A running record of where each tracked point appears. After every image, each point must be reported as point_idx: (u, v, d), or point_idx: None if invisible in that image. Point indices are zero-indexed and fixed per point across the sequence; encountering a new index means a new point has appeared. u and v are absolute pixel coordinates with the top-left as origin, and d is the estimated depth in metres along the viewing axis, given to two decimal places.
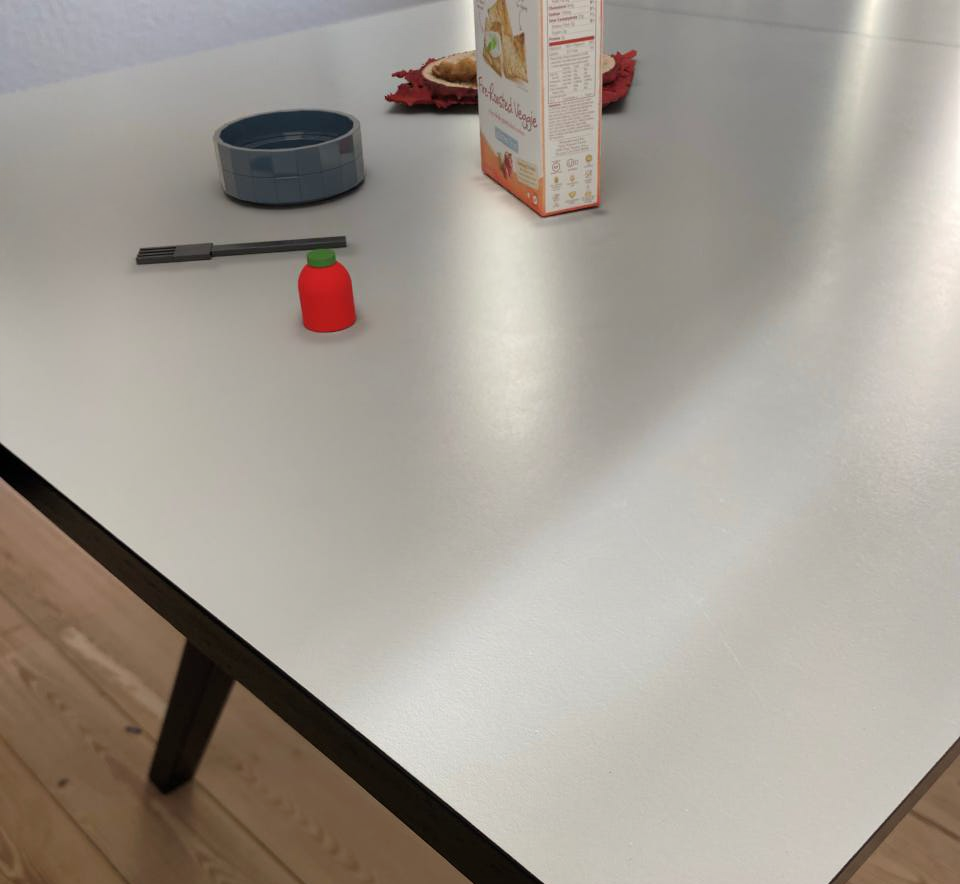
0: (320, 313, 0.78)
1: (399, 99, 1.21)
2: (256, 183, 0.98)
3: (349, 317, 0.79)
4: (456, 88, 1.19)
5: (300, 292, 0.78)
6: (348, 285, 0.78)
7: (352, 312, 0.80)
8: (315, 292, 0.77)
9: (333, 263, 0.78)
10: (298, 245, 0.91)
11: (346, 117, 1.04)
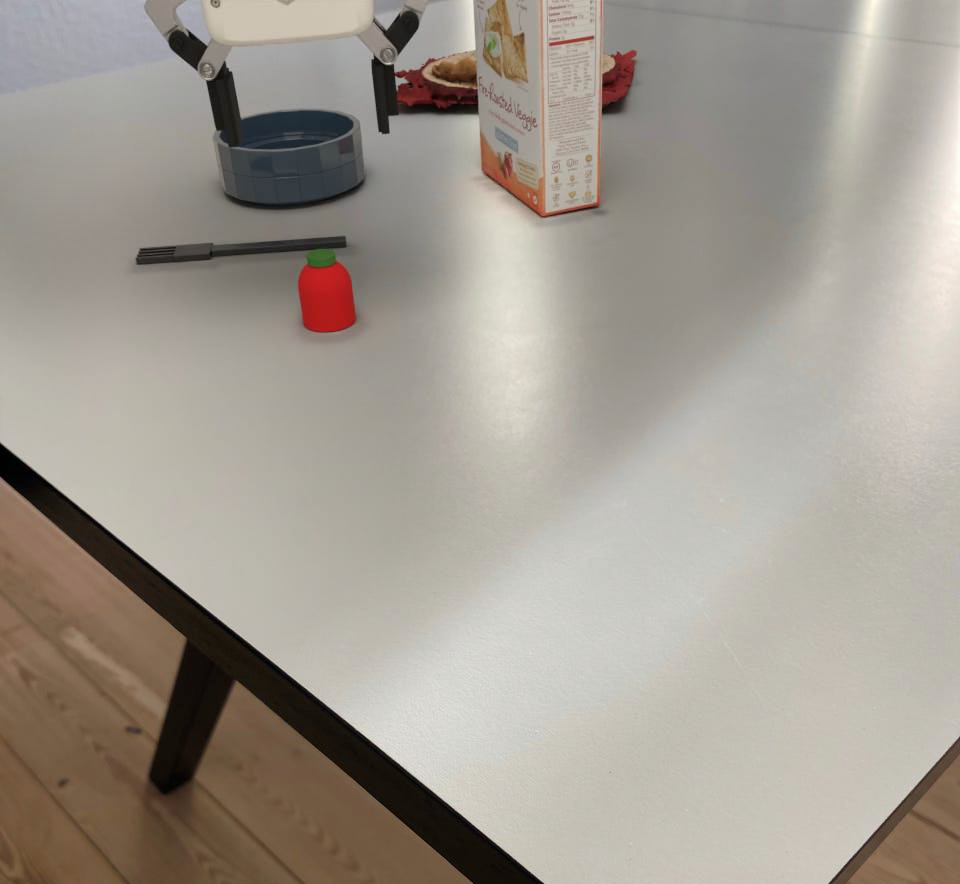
0: (320, 313, 0.78)
1: (399, 99, 1.21)
2: (256, 183, 0.98)
3: (349, 317, 0.79)
4: (456, 88, 1.19)
5: (300, 292, 0.78)
6: (348, 285, 0.78)
7: (352, 312, 0.80)
8: (315, 292, 0.77)
9: (333, 263, 0.78)
10: (298, 245, 0.91)
11: (346, 117, 1.04)
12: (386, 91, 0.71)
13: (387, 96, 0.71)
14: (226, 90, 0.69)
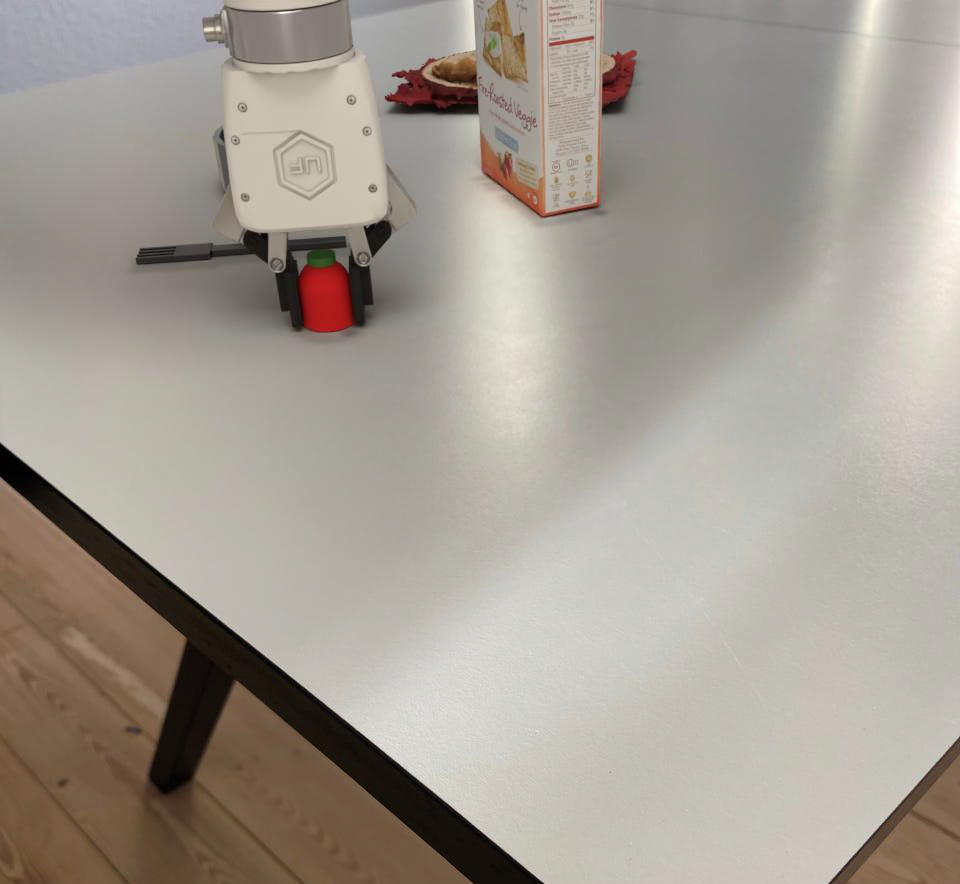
0: (320, 313, 0.78)
1: (399, 99, 1.21)
2: None
3: (349, 317, 0.79)
4: (456, 88, 1.19)
5: (300, 292, 0.78)
6: (348, 285, 0.78)
7: (352, 312, 0.80)
8: (315, 292, 0.77)
9: (333, 263, 0.78)
10: (298, 245, 0.91)
11: None
12: (362, 286, 0.78)
13: (362, 290, 0.79)
14: (293, 281, 0.77)
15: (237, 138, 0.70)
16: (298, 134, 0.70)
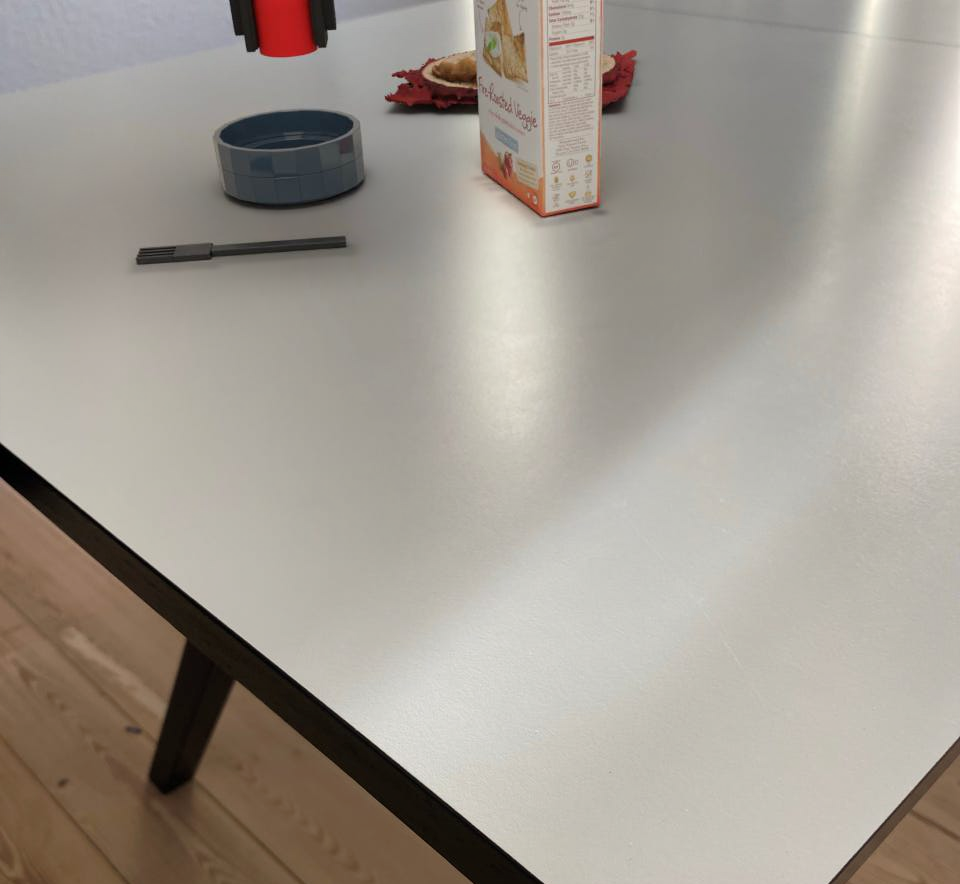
0: (276, 33, 0.71)
1: (399, 99, 1.21)
2: (256, 183, 0.98)
3: (309, 42, 0.72)
4: (456, 88, 1.19)
5: (255, 10, 0.71)
6: (307, 2, 0.71)
7: (313, 37, 0.72)
8: (270, 7, 0.70)
9: None
10: (298, 245, 0.91)
11: (346, 117, 1.04)
12: (322, 4, 0.71)
13: (323, 9, 0.71)
14: None
15: None
16: None
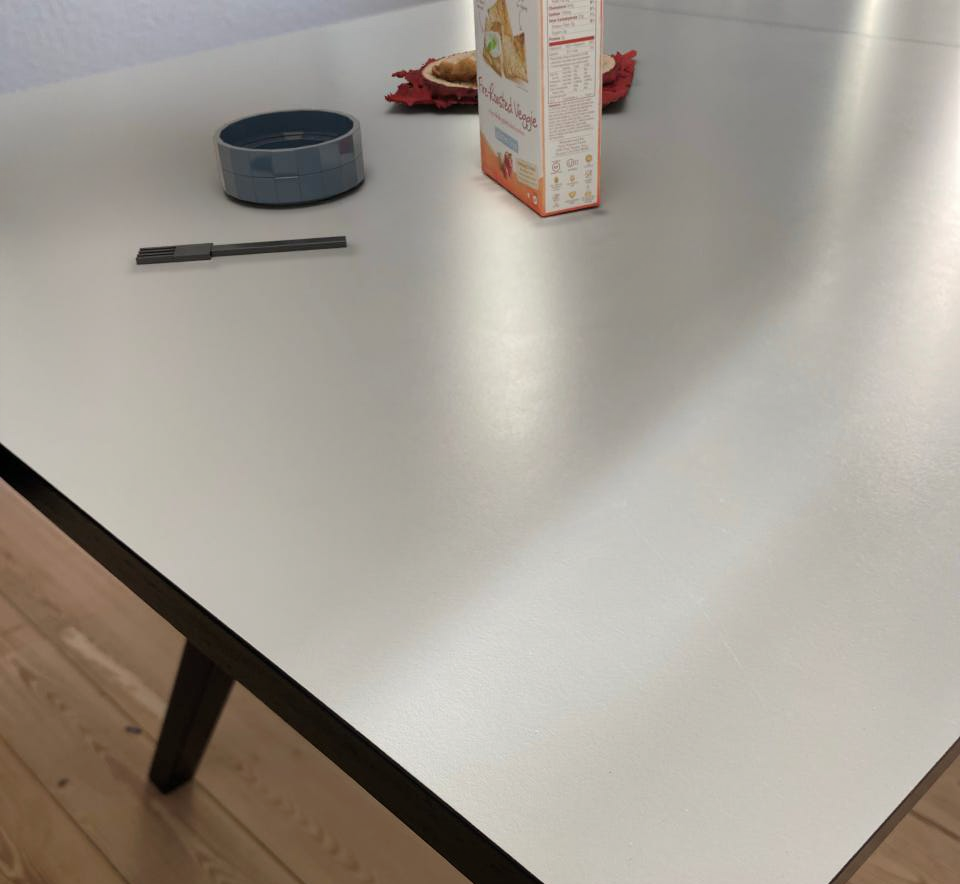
0: None
1: (399, 99, 1.21)
2: (256, 183, 0.98)
3: None
4: (456, 88, 1.19)
5: None
6: None
7: None
8: None
9: None
10: (298, 245, 0.91)
11: (346, 117, 1.04)
12: None
13: None
14: None
15: None
16: None
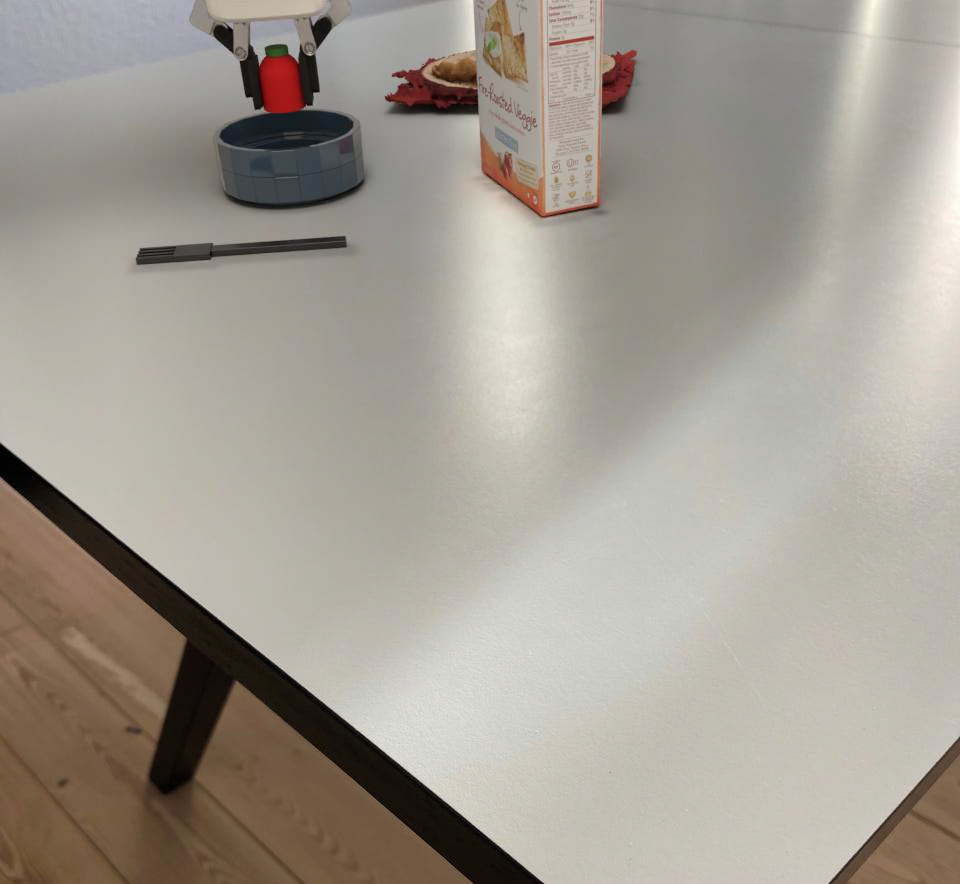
0: (276, 96, 0.98)
1: (399, 99, 1.21)
2: (256, 183, 0.98)
3: (300, 101, 0.99)
4: (456, 88, 1.19)
5: (260, 79, 0.98)
6: (298, 73, 0.98)
7: (302, 98, 0.99)
8: (272, 77, 0.97)
9: (286, 54, 0.97)
10: (298, 245, 0.91)
11: (346, 117, 1.04)
12: (309, 74, 0.98)
13: (310, 78, 0.98)
14: (254, 68, 0.96)
15: None
16: None
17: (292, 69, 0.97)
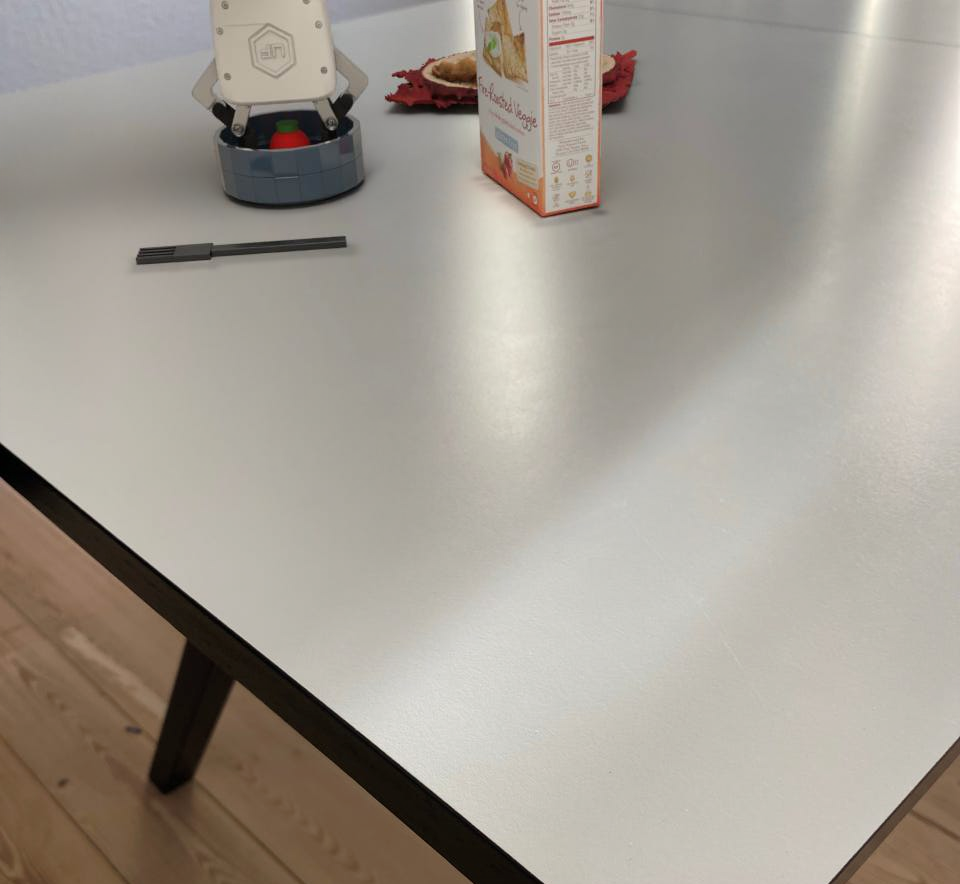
0: None
1: (399, 99, 1.21)
2: (256, 183, 0.98)
3: None
4: (456, 88, 1.19)
5: None
6: None
7: None
8: None
9: (296, 130, 1.01)
10: (298, 245, 0.91)
11: (346, 117, 1.04)
12: None
13: None
14: (251, 143, 1.00)
15: (221, 29, 0.93)
16: (267, 26, 0.93)
17: (302, 144, 1.01)
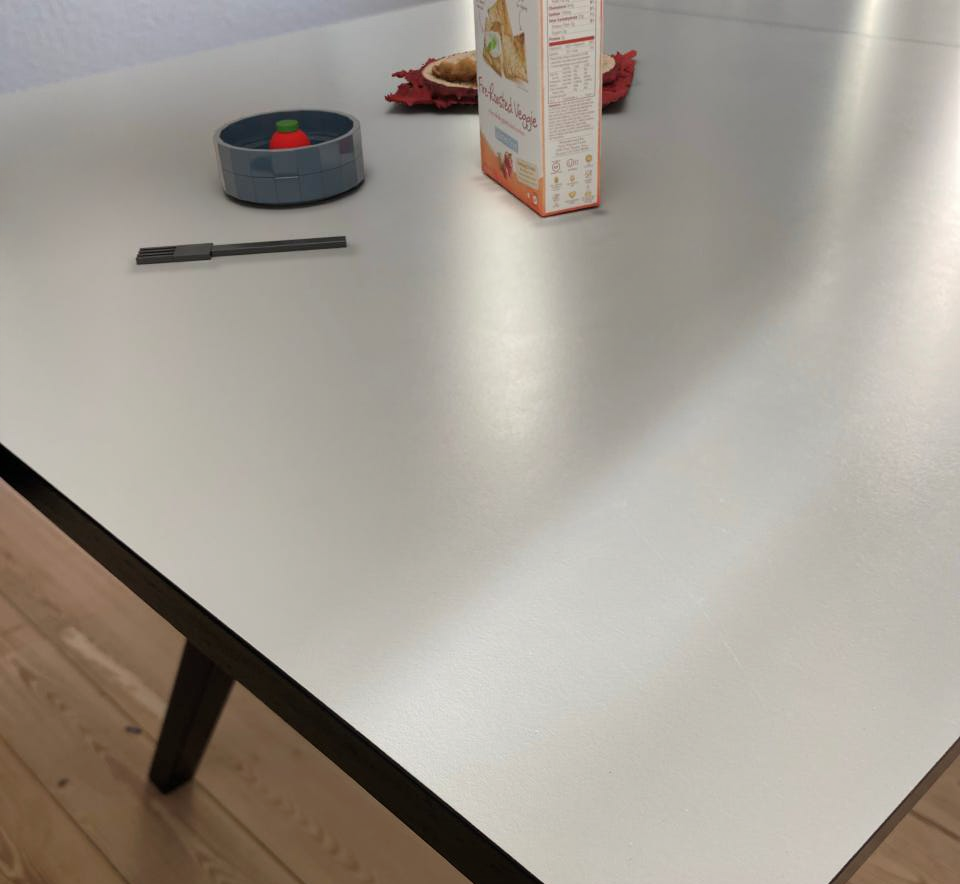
0: None
1: (399, 99, 1.21)
2: (256, 183, 0.98)
3: None
4: (456, 88, 1.19)
5: None
6: None
7: None
8: None
9: (296, 130, 1.01)
10: (298, 245, 0.91)
11: (346, 117, 1.04)
12: None
13: None
14: None
15: None
16: None
17: (302, 144, 1.01)
